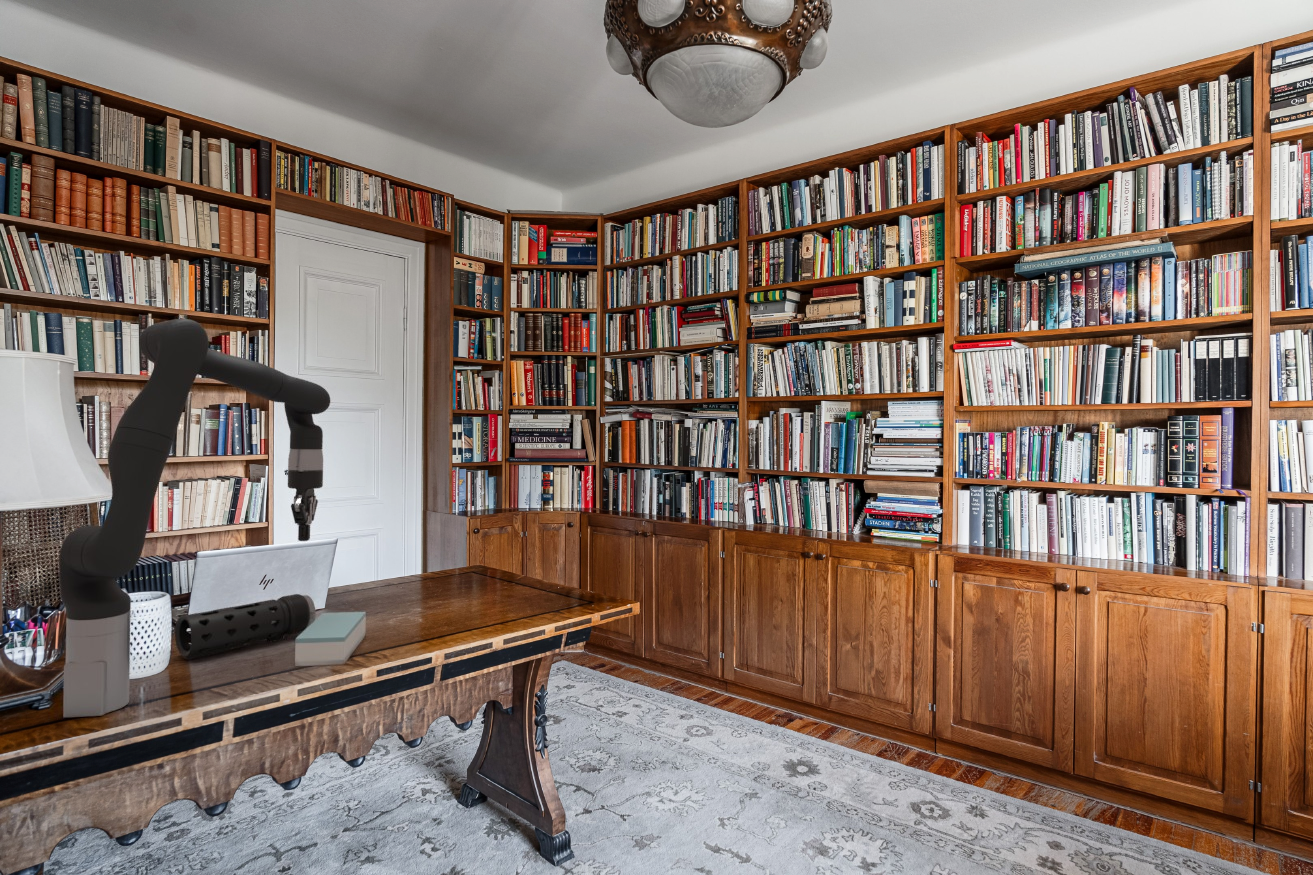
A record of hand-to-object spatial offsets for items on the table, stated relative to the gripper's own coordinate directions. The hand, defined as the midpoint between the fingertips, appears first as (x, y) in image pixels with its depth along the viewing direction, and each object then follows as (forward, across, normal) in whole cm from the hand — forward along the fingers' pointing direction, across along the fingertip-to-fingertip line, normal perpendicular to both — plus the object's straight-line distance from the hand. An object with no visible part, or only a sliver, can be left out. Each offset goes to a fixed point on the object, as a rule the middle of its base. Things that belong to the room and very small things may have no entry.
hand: (304, 540), depth 167 cm
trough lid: (+20, +5, +8) cm, 22 cm away
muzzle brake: (+25, -1, -12) cm, 28 cm away
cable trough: (+25, +5, +8) cm, 27 cm away
